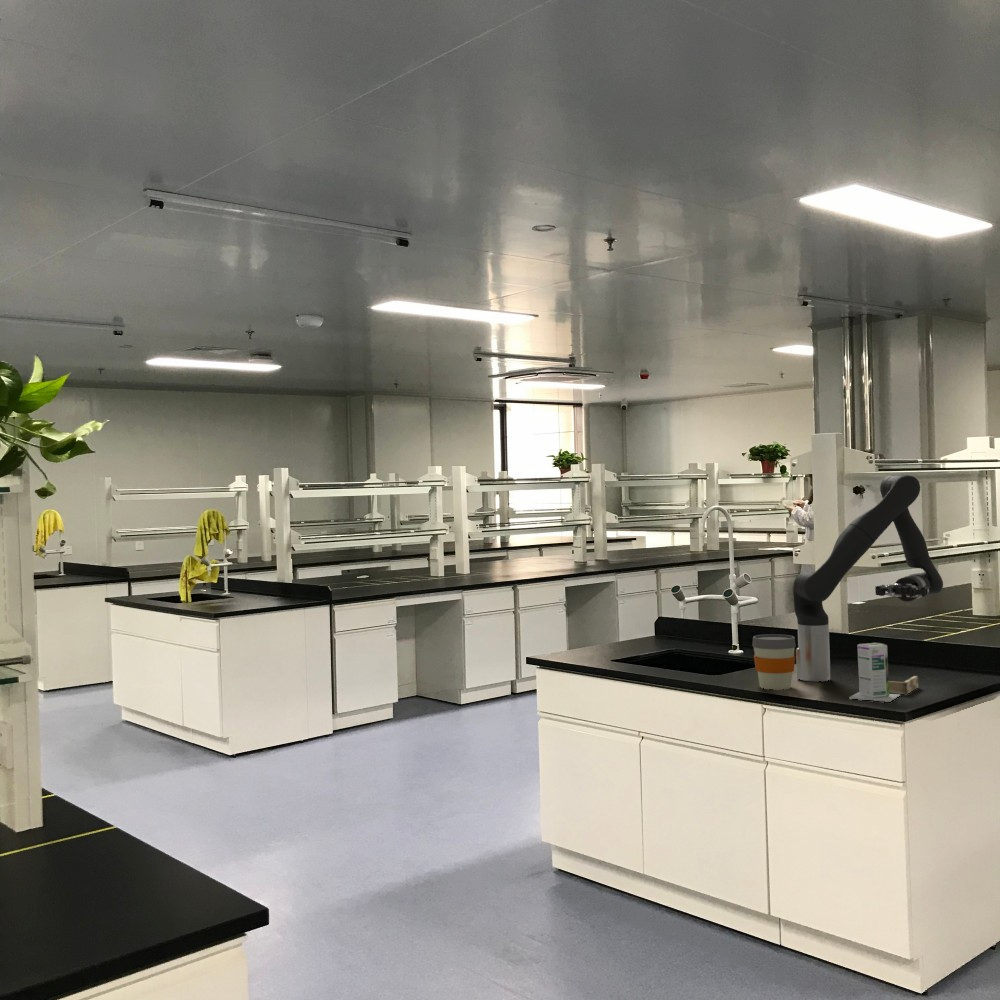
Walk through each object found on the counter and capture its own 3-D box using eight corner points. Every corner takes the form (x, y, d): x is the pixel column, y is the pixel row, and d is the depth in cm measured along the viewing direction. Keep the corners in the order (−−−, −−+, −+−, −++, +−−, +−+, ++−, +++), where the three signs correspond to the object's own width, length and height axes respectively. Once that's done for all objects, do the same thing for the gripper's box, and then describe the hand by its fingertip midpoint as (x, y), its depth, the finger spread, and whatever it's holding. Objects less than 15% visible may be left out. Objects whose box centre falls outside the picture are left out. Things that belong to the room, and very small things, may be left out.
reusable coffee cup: (761, 691, 291) (760, 640, 291) (748, 684, 304) (746, 635, 304) (803, 689, 292) (801, 638, 292) (788, 682, 305) (786, 633, 305)
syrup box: (872, 698, 274) (870, 645, 274) (858, 694, 280) (857, 643, 280) (889, 696, 276) (888, 644, 276) (875, 693, 281) (874, 641, 282)
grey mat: (849, 699, 277) (849, 697, 277) (860, 693, 285) (860, 691, 285) (890, 703, 270) (889, 700, 270) (900, 696, 278) (900, 694, 278)
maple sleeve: (879, 684, 296) (879, 673, 296) (918, 688, 290) (917, 676, 290) (866, 692, 286) (866, 679, 286) (906, 695, 280) (906, 683, 280)
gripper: (885, 575, 307) (869, 579, 294) (934, 576, 298) (920, 580, 285) (886, 599, 307) (870, 604, 294) (935, 601, 298) (921, 606, 285)
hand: (895, 592), depth 289 cm, fingers open, 8 cm apart
